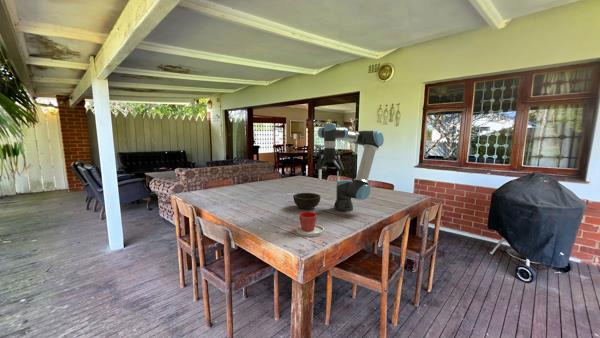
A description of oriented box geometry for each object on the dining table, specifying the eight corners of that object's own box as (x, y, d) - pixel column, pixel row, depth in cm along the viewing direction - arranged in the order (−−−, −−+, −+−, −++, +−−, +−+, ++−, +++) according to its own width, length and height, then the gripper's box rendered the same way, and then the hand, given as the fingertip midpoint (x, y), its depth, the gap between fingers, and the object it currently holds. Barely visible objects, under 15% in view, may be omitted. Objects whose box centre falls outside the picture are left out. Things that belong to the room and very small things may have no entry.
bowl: (288, 206, 213) (288, 194, 212) (312, 203, 223) (312, 191, 221) (300, 213, 194) (300, 200, 193) (325, 210, 203) (325, 197, 202)
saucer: (306, 224, 170) (306, 222, 170) (329, 230, 161) (329, 227, 160) (291, 232, 156) (291, 229, 156) (315, 238, 147) (315, 235, 147)
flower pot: (301, 233, 153) (301, 217, 152) (297, 227, 164) (297, 212, 163) (318, 232, 155) (318, 216, 154) (313, 225, 166) (314, 211, 165)
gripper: (310, 147, 172) (309, 178, 175) (345, 148, 158) (344, 182, 161) (316, 146, 179) (315, 177, 181) (350, 148, 165) (349, 181, 167)
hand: (329, 180), depth 171 cm, fingers open, 13 cm apart
